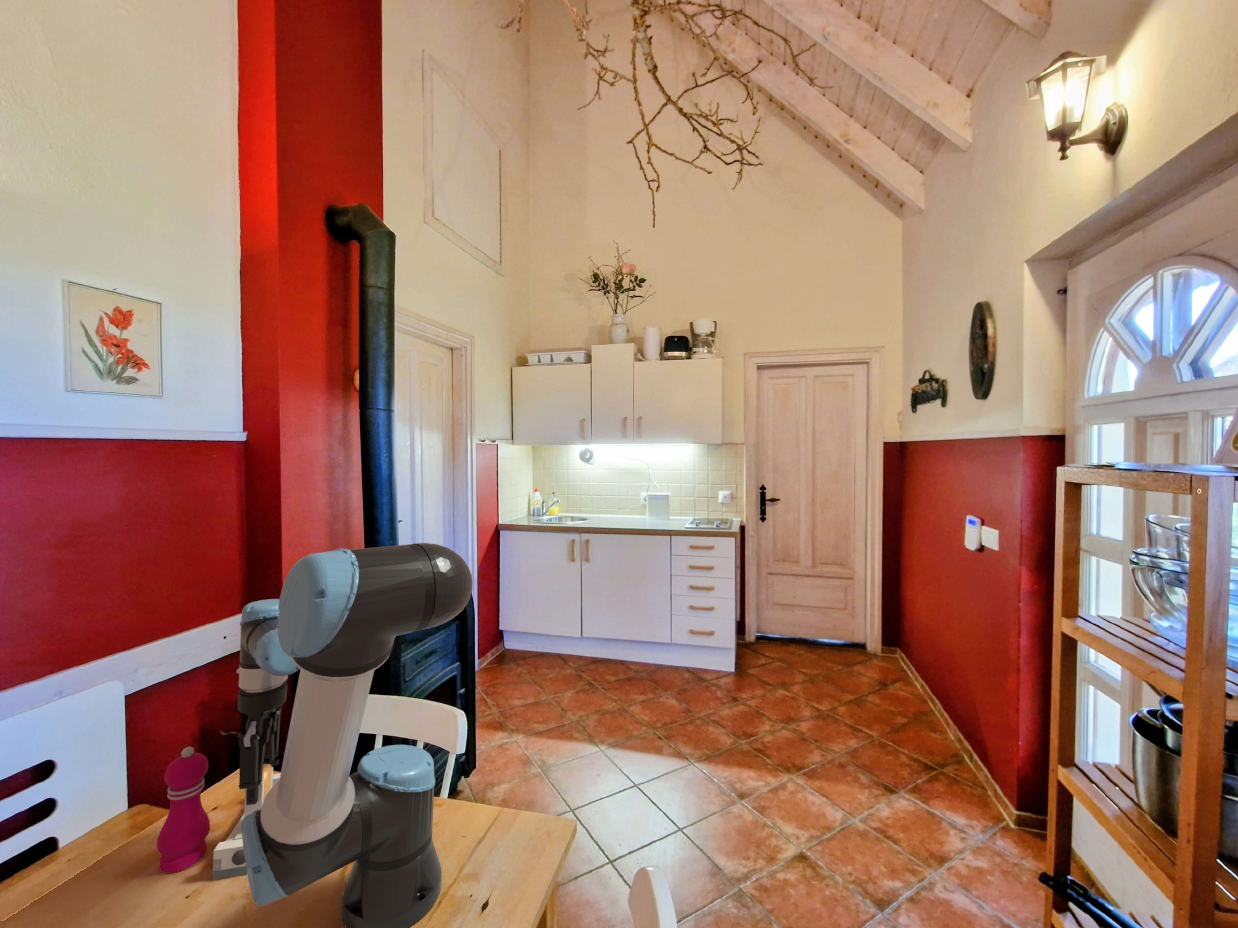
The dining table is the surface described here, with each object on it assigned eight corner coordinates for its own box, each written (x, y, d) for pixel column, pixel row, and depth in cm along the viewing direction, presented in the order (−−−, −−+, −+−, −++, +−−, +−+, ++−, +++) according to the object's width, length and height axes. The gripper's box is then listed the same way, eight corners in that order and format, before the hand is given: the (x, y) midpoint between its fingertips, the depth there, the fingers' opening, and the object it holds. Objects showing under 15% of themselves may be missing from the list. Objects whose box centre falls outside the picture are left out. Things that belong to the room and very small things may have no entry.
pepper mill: (177, 879, 85) (182, 761, 85) (144, 871, 86) (149, 755, 87) (219, 848, 92) (223, 739, 93) (187, 841, 94) (192, 734, 94)
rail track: (265, 872, 87) (267, 843, 87) (211, 881, 85) (212, 851, 85) (307, 791, 109) (308, 768, 109) (265, 797, 107) (265, 773, 107)
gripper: (258, 668, 100) (253, 786, 100) (217, 706, 84) (211, 846, 84) (300, 665, 103) (296, 780, 102) (268, 702, 87) (263, 838, 86)
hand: (258, 810), depth 93 cm, fingers closed on carriage, 4 cm apart
